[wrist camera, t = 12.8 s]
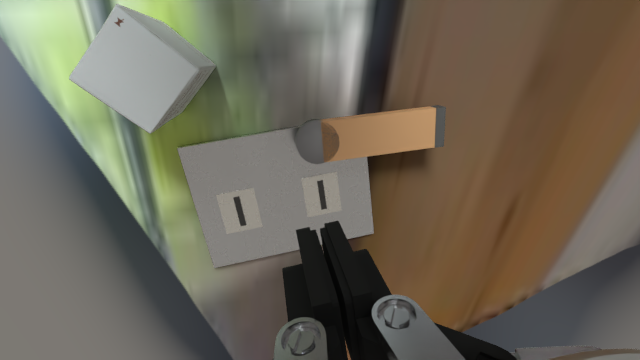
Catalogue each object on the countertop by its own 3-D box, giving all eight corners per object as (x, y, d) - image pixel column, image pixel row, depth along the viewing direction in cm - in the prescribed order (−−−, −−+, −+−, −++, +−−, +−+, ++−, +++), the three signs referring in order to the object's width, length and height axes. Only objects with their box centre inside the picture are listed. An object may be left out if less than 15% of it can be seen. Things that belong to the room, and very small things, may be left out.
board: (178, 146, 40) (172, 152, 38) (361, 115, 43) (368, 118, 40) (215, 264, 47) (212, 277, 44) (372, 230, 50) (378, 240, 47)
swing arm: (297, 162, 41) (299, 167, 39) (292, 121, 39) (294, 124, 37) (436, 143, 43) (443, 147, 41) (438, 104, 41) (445, 106, 40)
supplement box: (125, 72, 37) (62, 77, 25) (163, 19, 36) (115, -2, 24) (182, 114, 39) (149, 136, 28) (219, 66, 38) (201, 68, 27)
